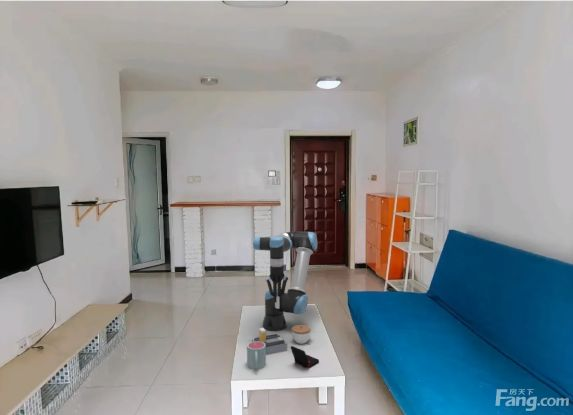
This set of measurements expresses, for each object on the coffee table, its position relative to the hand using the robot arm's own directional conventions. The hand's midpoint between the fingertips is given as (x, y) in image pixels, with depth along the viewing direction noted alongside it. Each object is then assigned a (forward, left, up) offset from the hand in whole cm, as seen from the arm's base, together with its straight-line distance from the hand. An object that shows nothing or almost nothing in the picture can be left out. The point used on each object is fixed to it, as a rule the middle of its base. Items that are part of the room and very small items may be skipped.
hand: (277, 307), depth 203 cm
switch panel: (+5, 0, -22) cm, 23 cm away
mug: (+18, +16, -23) cm, 33 cm away
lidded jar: (-15, -1, -23) cm, 27 cm away
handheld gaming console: (-6, +23, -23) cm, 33 cm away
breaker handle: (+9, 0, -18) cm, 20 cm away
